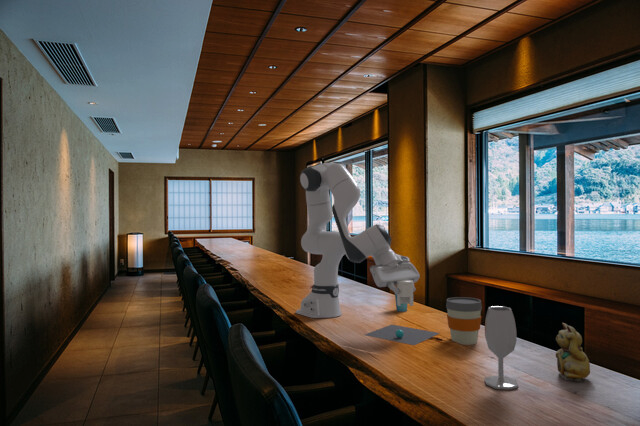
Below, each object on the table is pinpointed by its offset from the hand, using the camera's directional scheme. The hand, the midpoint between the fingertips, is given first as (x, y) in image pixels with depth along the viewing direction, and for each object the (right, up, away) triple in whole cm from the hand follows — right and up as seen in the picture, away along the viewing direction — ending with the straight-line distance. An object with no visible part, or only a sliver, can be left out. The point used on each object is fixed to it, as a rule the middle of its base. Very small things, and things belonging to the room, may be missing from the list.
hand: (406, 292), depth 172 cm
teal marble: (-3, -15, -2) cm, 16 cm away
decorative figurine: (+40, -17, -43) cm, 61 cm away
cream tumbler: (0, -5, +1) cm, 5 cm away
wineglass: (+17, -17, -47) cm, 53 cm away
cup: (+7, -17, +46) cm, 49 cm away
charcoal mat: (-1, -17, +4) cm, 18 cm away
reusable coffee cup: (+20, -17, -6) cm, 27 cm away
